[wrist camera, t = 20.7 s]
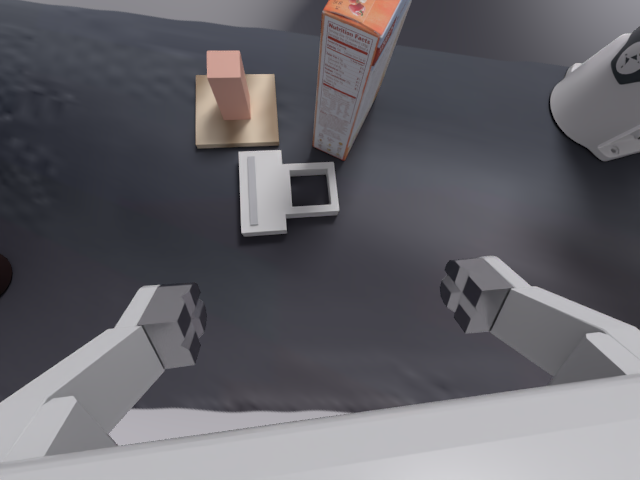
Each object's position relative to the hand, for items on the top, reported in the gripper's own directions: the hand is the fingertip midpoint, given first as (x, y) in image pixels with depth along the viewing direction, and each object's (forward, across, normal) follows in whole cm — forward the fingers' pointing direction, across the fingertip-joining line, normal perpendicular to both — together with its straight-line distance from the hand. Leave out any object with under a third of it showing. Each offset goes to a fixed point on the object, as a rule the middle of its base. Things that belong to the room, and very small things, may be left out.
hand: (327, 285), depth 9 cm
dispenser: (+32, -1, -10) cm, 33 cm away
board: (+42, -8, 0) cm, 42 cm away
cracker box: (+40, +9, -2) cm, 41 cm away
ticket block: (+41, -8, +1) cm, 42 cm away
